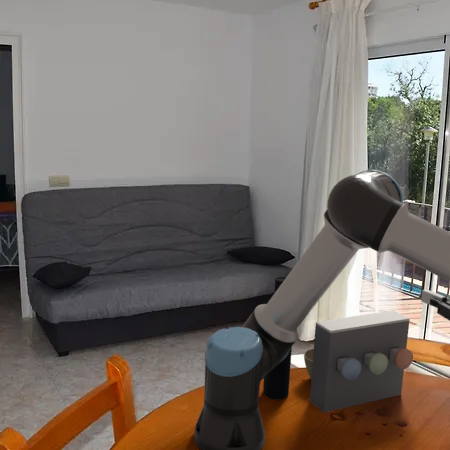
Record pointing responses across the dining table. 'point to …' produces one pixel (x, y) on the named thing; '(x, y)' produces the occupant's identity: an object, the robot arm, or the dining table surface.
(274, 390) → the wine bottle
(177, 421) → the dining table surface
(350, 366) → the slate button
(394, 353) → the terracotta button
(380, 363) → the sage button
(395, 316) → the control panel
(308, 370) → the flower pot
